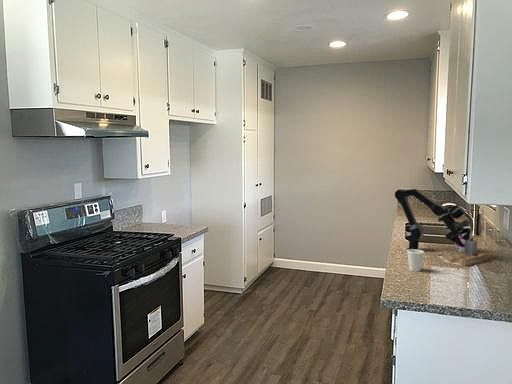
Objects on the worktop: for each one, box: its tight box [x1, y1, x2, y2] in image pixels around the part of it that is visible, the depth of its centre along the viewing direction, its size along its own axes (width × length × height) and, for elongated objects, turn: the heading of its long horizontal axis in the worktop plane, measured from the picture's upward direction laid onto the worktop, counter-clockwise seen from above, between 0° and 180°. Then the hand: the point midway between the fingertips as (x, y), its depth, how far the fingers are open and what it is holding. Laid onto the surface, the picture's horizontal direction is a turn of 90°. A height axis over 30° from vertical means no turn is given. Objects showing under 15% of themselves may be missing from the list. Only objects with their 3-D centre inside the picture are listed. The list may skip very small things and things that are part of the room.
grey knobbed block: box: [464, 236, 478, 256], centre depth 243 cm, size 4×4×12 cm
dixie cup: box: [406, 249, 425, 272], centre depth 223 cm, size 8×8×10 cm
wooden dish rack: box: [440, 252, 489, 267], centre depth 240 cm, size 14×24×5 cm, turn 125°
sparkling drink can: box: [455, 226, 473, 253], centre depth 264 cm, size 8×8×15 cm
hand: (467, 245), depth 244 cm, fingers open, 9 cm apart
